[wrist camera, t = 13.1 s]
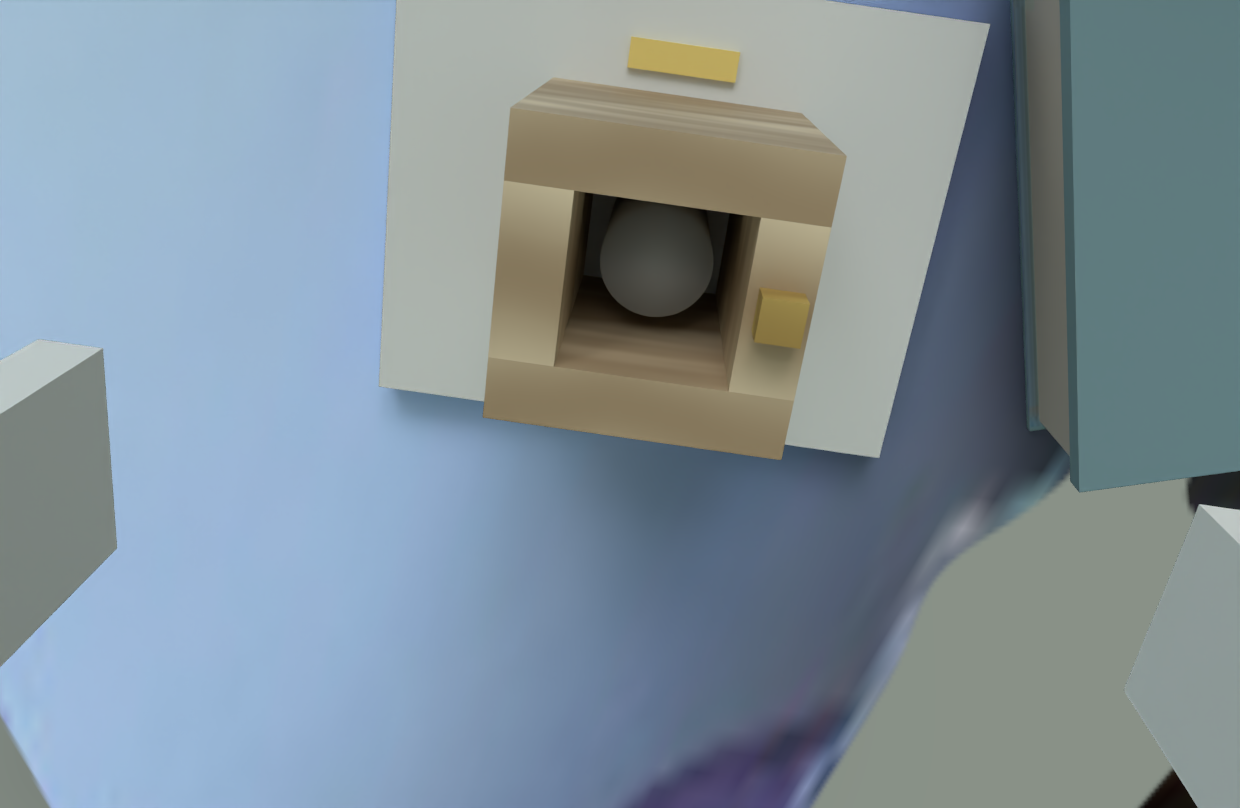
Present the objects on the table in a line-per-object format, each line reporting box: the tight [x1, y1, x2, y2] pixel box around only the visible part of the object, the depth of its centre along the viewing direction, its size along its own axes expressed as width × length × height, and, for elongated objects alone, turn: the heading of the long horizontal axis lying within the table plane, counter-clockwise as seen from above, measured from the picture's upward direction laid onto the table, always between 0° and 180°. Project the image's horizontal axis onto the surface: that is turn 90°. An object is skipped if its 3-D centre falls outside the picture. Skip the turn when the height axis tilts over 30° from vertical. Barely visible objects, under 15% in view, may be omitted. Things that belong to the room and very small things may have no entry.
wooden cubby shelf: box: [483, 77, 847, 460], centre depth 25 cm, size 7×7×9 cm
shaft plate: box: [379, 0, 990, 458], centre depth 28 cm, size 16×13×6 cm
